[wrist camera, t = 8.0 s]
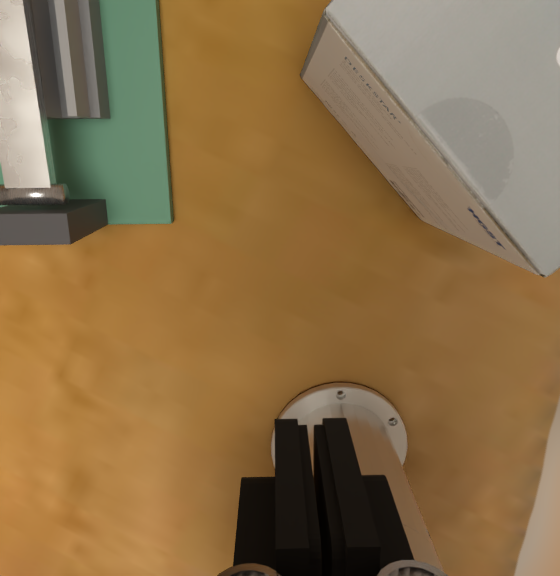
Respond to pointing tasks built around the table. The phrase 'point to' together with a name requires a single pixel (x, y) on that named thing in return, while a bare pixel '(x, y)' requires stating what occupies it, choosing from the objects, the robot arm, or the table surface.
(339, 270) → the table surface
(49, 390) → the table surface
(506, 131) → the hard drive box
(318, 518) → the robot arm
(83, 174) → the board
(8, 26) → the grey long flat bar
